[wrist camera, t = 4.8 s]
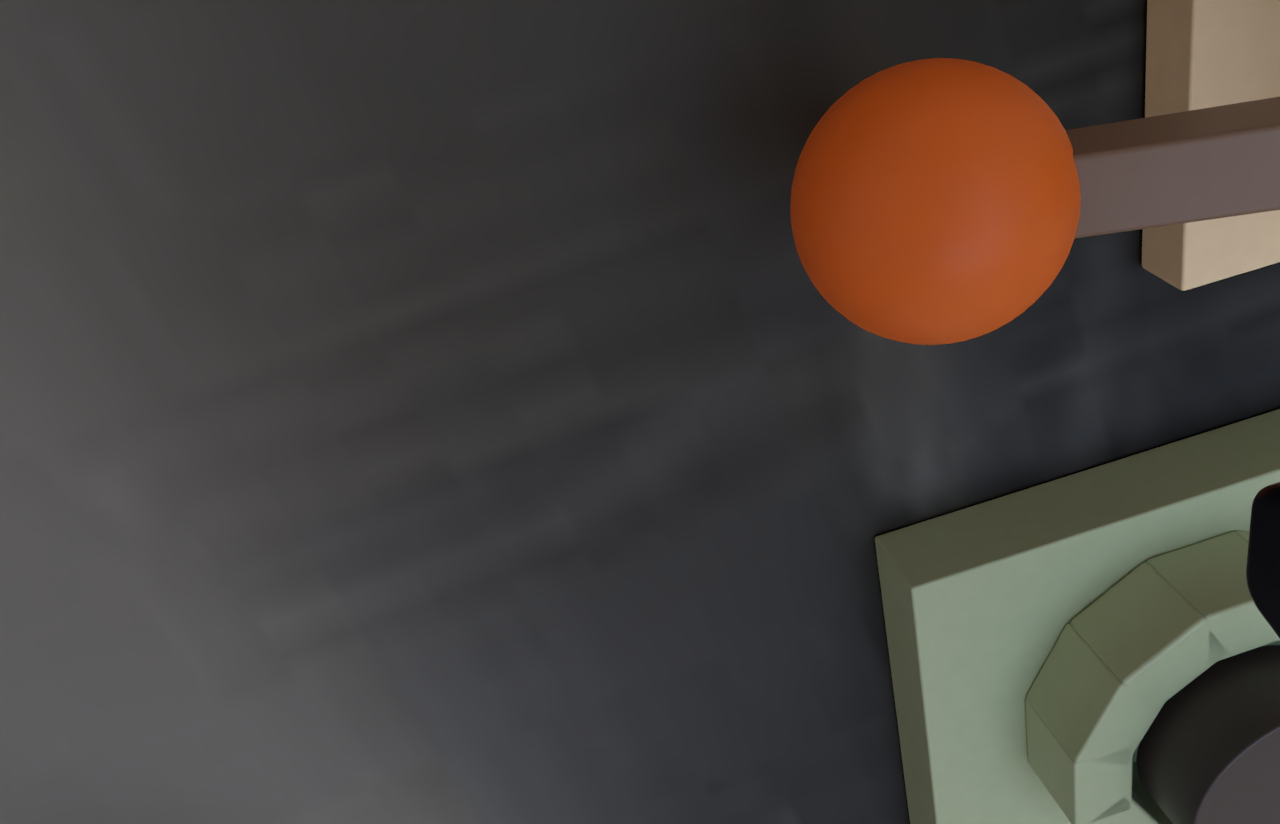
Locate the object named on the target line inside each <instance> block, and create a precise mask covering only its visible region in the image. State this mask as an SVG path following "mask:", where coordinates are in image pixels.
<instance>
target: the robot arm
mask: <svg viewBox="0 0 1280 824" xmlns="http://www.w3.org/2000/svg"><path fill="white" fill-rule="evenodd" d="M1246 579H1247V585H1248V589H1249V592H1250V595H1251V597H1252V599H1253V601H1254V603H1255V605H1256V607H1257V608H1258V610H1259V612H1260V613H1261V614H1262V616H1263V617H1264V618H1265V620H1266V621H1267V622H1268V624H1269V625H1270V626H1271V628H1272V629H1273V630H1274V632H1275V633H1276V634H1277V636H1278V637H1279V638H1280V482H1278V483H1275V484H1272V485H1268V486H1266V487H1264V488H1263V489H1261V490H1260V491H1259V492H1258V493H1257V495H1256V496H1255V498H1254V500H1253V503H1252V509H1251V520H1250V532H1249V543H1248V555H1247V566H1246Z"/></svg>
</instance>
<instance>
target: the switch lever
mask: <svg viewBox="0 0 1280 824" xmlns="http://www.w3.org/2000/svg"><path fill="white" fill-rule="evenodd" d="M1275 210H1280V97H1274V98H1268V99H1261V100H1255V101H1248V102H1242V103H1236V104H1229V105H1223V106H1217V107H1210V108H1204V109H1198V110H1191V111H1185V112H1178V113H1172V114H1166V115H1159V116H1153V117H1147V118H1140V119H1134V120H1127V121H1121V122H1115V123H1108V124H1102V125H1096V126H1089V127H1083V128H1077V129H1070V130H1065V129H1064V127H1063V126H1062V124H1061V122H1060V121H1059V119H1058V117H1057V116H1056V115H1055V113H1054V112H1053V111H1052V110H1051V109H1050V107H1049V106H1048V105H1047V104H1046V103H1045V102H1044V101H1043V100H1042V98H1041V97H1039V96H1038V95H1037V94H1036V93H1035V92H1034V91H1033V90H1031V89H1030V88H1029V87H1028V86H1027V85H1025V84H1024V83H1022V82H1021V81H1019V80H1018V79H1016V78H1015V77H1013V76H1011V75H1009V74H1007V73H1005V72H1003V71H1000V70H998V69H996V68H993V67H991V66H987V65H984V64H981V63H977V62H974V61H969V60H962V59H956V58H931V59H921V60H915V61H911V62H906V63H902V64H898V65H895V66H893V67H890V68H887V69H885V70H882V71H880V72H878V73H876V74H874V75H872V76H870V77H868V78H866V79H864V80H863V81H861V82H860V83H858V84H857V85H855V86H854V87H852V88H851V89H850V90H848V91H847V92H846V93H845V94H844V95H843V96H841V97H840V98H839V99H838V100H837V101H836V102H835V103H834V104H833V105H832V106H831V107H830V108H829V109H828V110H827V112H826V113H825V114H824V115H823V116H822V118H821V119H820V121H819V122H818V123H817V125H816V126H815V128H814V129H813V131H812V132H811V134H810V136H809V137H808V139H807V141H806V143H805V145H804V147H803V149H802V151H801V154H800V157H799V160H798V163H797V165H796V168H795V173H794V178H793V183H792V189H791V200H790V216H791V227H792V232H793V237H794V241H795V246H796V250H797V252H798V255H799V258H800V260H801V263H802V265H803V267H804V269H805V271H806V272H807V274H808V276H809V278H810V280H811V281H812V283H813V285H814V286H815V287H816V289H817V290H818V291H819V293H820V294H821V295H822V297H823V298H824V299H825V300H826V301H827V302H828V303H829V304H830V305H831V306H832V307H833V308H834V309H835V310H837V311H838V312H839V313H840V314H842V315H843V316H844V317H846V318H847V319H848V320H849V321H851V322H852V323H854V324H856V325H857V326H859V327H861V328H863V329H864V330H866V331H869V332H871V333H873V334H876V335H878V336H881V337H884V338H888V339H891V340H895V341H899V342H904V343H911V344H920V345H939V344H950V343H955V342H961V341H966V340H969V339H972V338H976V337H979V336H982V335H984V334H986V333H989V332H991V331H994V330H996V329H998V328H999V327H1001V326H1003V325H1005V324H1007V323H1008V322H1010V321H1012V320H1013V319H1014V318H1016V317H1017V316H1019V315H1020V314H1021V313H1023V312H1024V311H1025V310H1026V309H1027V308H1029V307H1030V306H1031V305H1032V304H1033V303H1034V302H1035V301H1036V300H1037V299H1038V298H1039V297H1040V296H1041V295H1042V294H1043V293H1044V292H1045V290H1046V289H1047V288H1048V287H1049V286H1050V285H1051V283H1052V282H1053V281H1054V279H1055V278H1056V276H1057V275H1058V273H1059V272H1060V270H1061V268H1062V266H1063V265H1064V263H1065V261H1066V259H1067V257H1068V255H1069V252H1070V249H1071V246H1072V244H1073V241H1074V238H1082V237H1089V236H1096V235H1103V234H1110V233H1117V232H1125V231H1132V230H1139V229H1146V228H1153V227H1160V226H1168V225H1175V224H1182V223H1189V222H1196V221H1203V220H1211V219H1218V218H1225V217H1232V216H1239V215H1246V214H1254V213H1261V212H1268V211H1275Z"/></svg>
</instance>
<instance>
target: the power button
mask: <svg viewBox="0 0 1280 824" xmlns="http://www.w3.org/2000/svg"><path fill="white" fill-rule="evenodd" d="M1136 762H1137V772H1138V775H1139V779H1140V781H1141V783H1142V785H1143V787H1144V788H1145V790H1146V791H1147V792H1148V793H1149V795H1150V796H1151V797H1152V798H1153V800H1154V801H1155V802H1156V803H1157V804H1158V806H1159V807H1160V808H1161V809H1162V811H1163V812H1164V813H1165V814H1166V816H1167V817H1168V818H1169V819H1170V820H1171V822H1172V823H1173V824H1280V645H1267V646H1261V647H1258V648H1255V649H1252V650H1249V651H1246V652H1243V653H1240V654H1237V655H1234V656H1232V657H1229V658H1226V659H1223V660H1220V661H1217V662H1216V663H1215V664H1213V665H1212V666H1211V667H1210V668H1208V669H1207V670H1206V671H1204V672H1203V673H1202V674H1201V675H1199V676H1198V677H1197V678H1195V679H1194V680H1193V681H1192V682H1190V683H1189V684H1188V685H1186V686H1185V687H1184V688H1183V689H1181V690H1180V691H1179V692H1177V693H1176V694H1175V695H1174V696H1172V697H1171V698H1170V699H1168V700H1167V701H1166V702H1165V703H1164V705H1163V706H1162V708H1161V710H1160V711H1159V713H1158V714H1157V716H1156V718H1155V719H1154V721H1153V723H1152V724H1151V726H1150V727H1149V729H1148V731H1147V732H1146V734H1145V735H1144V737H1143V739H1142V740H1141V742H1140V743H1139V747H1138V750H1137V759H1136Z"/></svg>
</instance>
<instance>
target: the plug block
mask: <svg viewBox="0 0 1280 824" xmlns="http://www.w3.org/2000/svg"><path fill="white" fill-rule="evenodd" d="M1278 482H1280V409H1278V410H1275V411H1271V412H1268V413H1265V414H1262V415H1259V416H1256V417H1252V418H1249V419H1246V420H1243V421H1240V422H1237V423H1233V424H1230V425H1227V426H1224V427H1221V428H1218V429H1214V430H1211V431H1208V432H1205V433H1202V434H1199V435H1196V436H1192V437H1189V438H1186V439H1183V440H1180V441H1177V442H1173V443H1170V444H1167V445H1164V446H1161V447H1158V448H1154V449H1151V450H1148V451H1145V452H1142V453H1139V454H1135V455H1132V456H1129V457H1126V458H1123V459H1120V460H1117V461H1113V462H1110V463H1107V464H1104V465H1101V466H1098V467H1094V468H1091V469H1088V470H1085V471H1082V472H1079V473H1075V474H1072V475H1069V476H1066V477H1063V478H1060V479H1057V480H1053V481H1050V482H1047V483H1044V484H1041V485H1038V486H1034V487H1031V488H1028V489H1025V490H1022V491H1019V492H1015V493H1012V494H1009V495H1006V496H1003V497H1000V498H996V499H993V500H990V501H987V502H984V503H981V504H978V505H974V506H971V507H968V508H965V509H962V510H959V511H955V512H952V513H949V514H946V515H943V516H940V517H936V518H933V519H930V520H927V521H924V522H921V523H918V524H914V525H911V526H908V527H905V528H902V529H899V530H895V531H892V532H889V533H886V534H883V535H880V536H877V537H875V546H876V554H877V562H878V570H879V578H880V586H881V594H882V602H883V610H884V618H885V626H886V634H887V642H888V650H889V658H890V666H891V674H892V682H893V690H894V698H895V706H896V714H897V723H898V731H899V739H900V747H901V755H902V763H903V771H904V779H905V787H906V795H907V803H908V811H909V819H910V824H1173V823H1172V822H1171V820H1170V819H1169V818H1168V817H1167V816H1166V814H1165V813H1164V812H1163V811H1162V809H1161V808H1160V807H1159V806H1158V804H1157V803H1156V802H1155V801H1154V800H1153V798H1152V797H1151V796H1150V795H1149V793H1148V792H1147V791H1146V790H1145V788H1144V787H1143V785H1142V783H1141V781H1140V779H1139V775H1138V772H1137V762H1136V759H1137V750H1138V747H1139V743H1140V742H1141V740H1142V739H1143V737H1144V735H1145V734H1146V732H1147V731H1148V729H1149V727H1150V726H1151V724H1152V723H1153V721H1154V719H1155V718H1156V716H1157V714H1158V713H1159V711H1160V710H1161V708H1162V706H1163V705H1164V703H1165V702H1166V701H1167V700H1168V699H1170V698H1171V697H1172V696H1174V695H1175V694H1176V693H1177V692H1179V691H1180V690H1181V689H1183V688H1184V687H1185V686H1186V685H1188V684H1189V683H1190V682H1192V681H1193V680H1194V679H1195V678H1197V677H1198V676H1199V675H1201V674H1202V673H1203V672H1204V671H1206V670H1207V669H1208V668H1210V667H1211V666H1212V665H1213V664H1215V663H1216V662H1217V661H1220V660H1223V659H1226V658H1229V657H1232V656H1234V655H1237V654H1240V653H1243V652H1246V651H1249V650H1252V649H1255V648H1258V647H1261V646H1267V645H1280V638H1279V637H1278V636H1277V634H1276V633H1275V632H1274V630H1273V629H1272V628H1271V626H1270V625H1269V624H1268V622H1267V621H1266V620H1265V618H1264V617H1263V616H1262V614H1261V613H1260V612H1259V610H1258V608H1257V607H1256V605H1255V603H1254V601H1253V599H1252V597H1251V595H1250V592H1249V589H1248V585H1247V579H1246V566H1247V555H1248V543H1249V532H1250V520H1251V509H1252V503H1253V500H1254V498H1255V496H1256V495H1257V493H1258V492H1259V491H1260V490H1261V489H1263V488H1264V487H1266V486H1268V485H1272V484H1275V483H1278Z"/></svg>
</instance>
